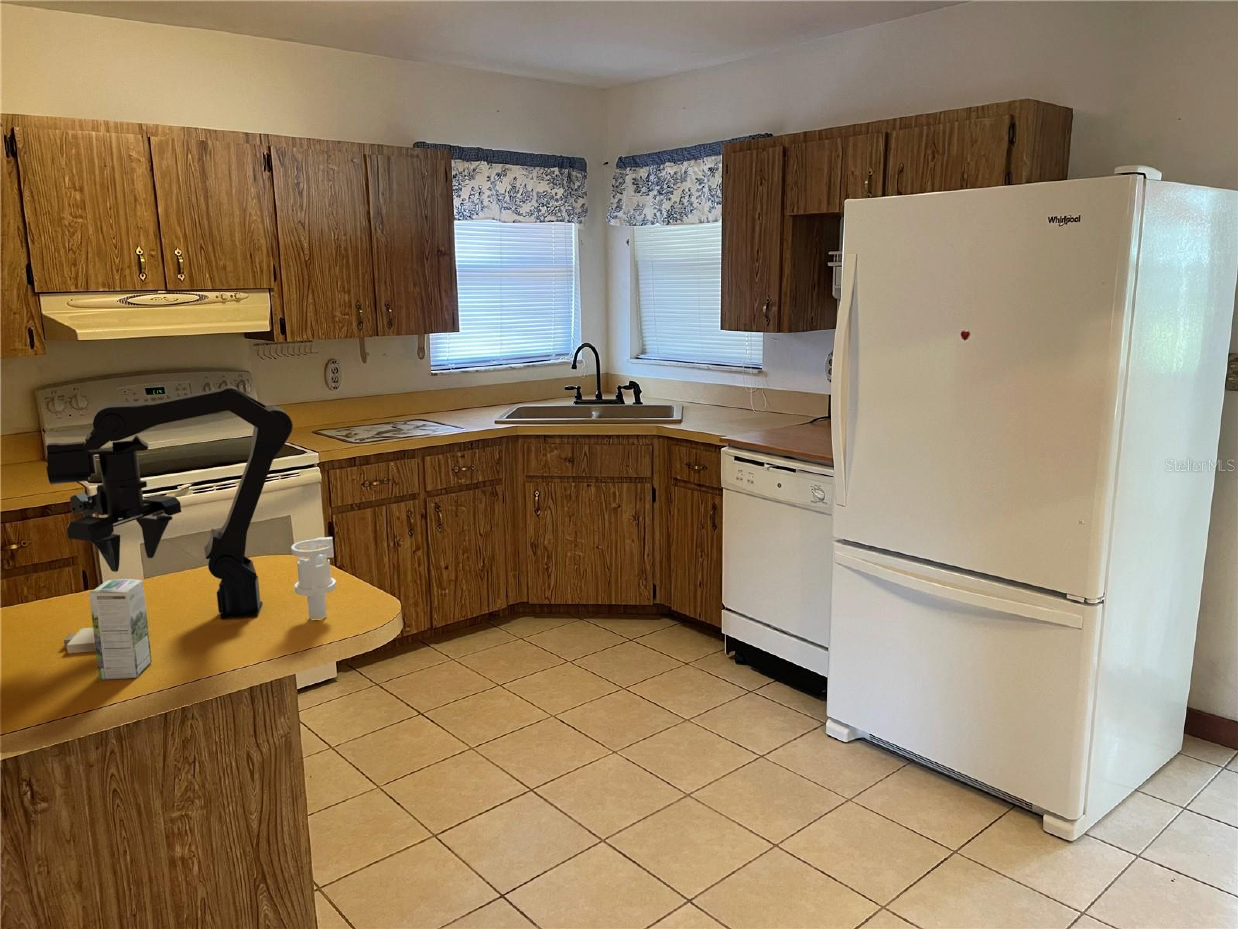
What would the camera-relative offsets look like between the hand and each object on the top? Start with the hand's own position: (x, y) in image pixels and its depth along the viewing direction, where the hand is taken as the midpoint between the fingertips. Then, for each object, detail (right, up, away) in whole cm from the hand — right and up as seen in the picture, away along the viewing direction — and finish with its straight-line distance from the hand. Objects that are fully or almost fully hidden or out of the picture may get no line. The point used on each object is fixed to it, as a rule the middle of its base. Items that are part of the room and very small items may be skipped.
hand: (133, 564), depth 156 cm
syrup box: (+7, -16, -14) cm, 22 cm away
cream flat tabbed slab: (-3, -13, -3) cm, 14 cm away
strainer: (+30, -11, +7) cm, 32 cm away
